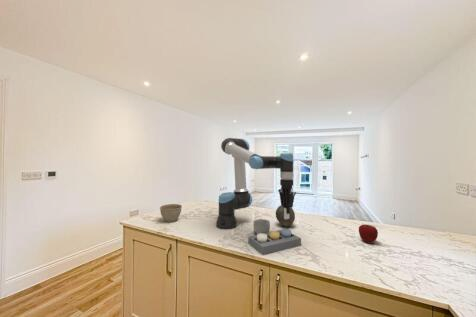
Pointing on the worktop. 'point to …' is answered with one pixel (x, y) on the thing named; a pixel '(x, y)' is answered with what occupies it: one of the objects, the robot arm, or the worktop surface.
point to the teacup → (261, 226)
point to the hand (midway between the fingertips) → (286, 218)
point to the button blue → (286, 233)
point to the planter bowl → (170, 212)
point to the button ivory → (261, 238)
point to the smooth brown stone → (281, 216)
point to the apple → (368, 233)
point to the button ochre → (274, 235)
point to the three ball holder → (274, 243)
